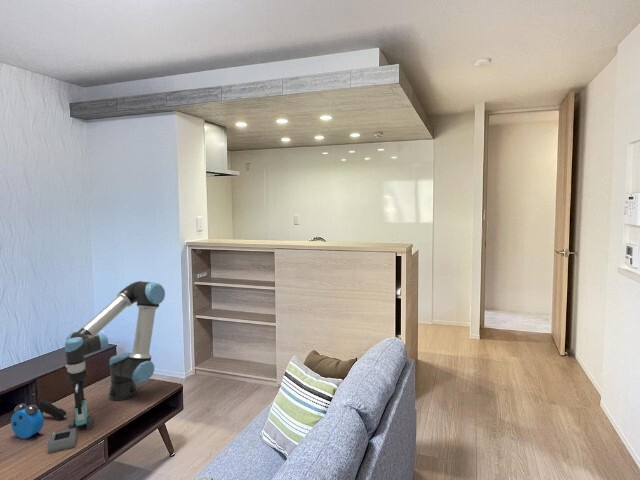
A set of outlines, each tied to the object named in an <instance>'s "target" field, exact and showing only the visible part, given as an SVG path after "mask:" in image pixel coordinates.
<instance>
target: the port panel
mask: <svg viewBox="0 0 640 480" xmlns="http://www.w3.org/2000/svg"><path fill="white" fill-rule="evenodd" d="M77 438H78V430H77V427H75V428H73V429H69V428H68V429H64V430H60V431H55V432H51V433H50V435H49V438H48V441H47V445H46V446H47V453H48V454H49V453H54V452H59V451H63V450H67V449H72V447H73V448H75V447H76V446H75V445H76V443H77Z"/></svg>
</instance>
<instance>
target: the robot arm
mask: <svg viewBox="0 0 640 480" xmlns="http://www.w3.org/2000/svg"><path fill="white" fill-rule="evenodd" d="M165 297H166V291H165V287H164V286H163V285H162V284H160V283H157V282H154V281H153V282H151V281H142V280H140V281H135V282H131V283H130V284H129V285H126V287H124V288H123V289H122V290H120V291H119V292H118V293H117V294H116V297H115V298H114V299H113V300H112V301H111V302H110V303H109V304H107V305H106V306H105V307H104V308H102V310H100V311H99V312H98V313H97V314H96V315H95V316H94V317H93V318H92V319H90V320H89V321H88V322H87V323H86V324H84V326H82V327H81V328H80V329H79V330H78V331H75V332H71V333H69V334H68V335H67V336H66V338H65V342H64V352H65V353H64V354H65V361H66V365H65V368H67V369H66V370H67V379H68V381H69V382H73V383H72V388H73V397H74V405H75V407H73V408H76V410H77V420H78V421H79V420H83V419H84V411H83V405H82V400H87V399H86V398H85V392H84V379H85V378H87V369H86V367H87V366H86V359H85V356H87V355H90V354H93V353H96V352H99V351H101V350H103V349H106V348H107V347H108V345H109V339H108V337H107V335H106V334H104V333H100V332H101V331H102V330H103V329H105V328H106V326H107V325H109V323H111V322H112V321H113V320H114V319H115V318H116V317H118V315H119V314H121V313H122V312H123V311H124V310H125V309H126V308H127V307H131V305H133V304H135V303H136V306H137V308H138V314H137V321H136V325H135V326H136V328H135V334H134V338H133V339H134V340H133V347H132V352H123V353H119V354H115V355H113V356H111V357H110V358H109V364H108V365H109V373H110V386H109V389H108V393H107V395H108V399H109V400H110V401H115V402H116V401H124V400H127V399H130V398H132V397H134V396H137V395H138V392H139V388H138V385H137V383H145V382H147V381H149V380H150V378H152V376H153V375H154V372H155V364H154V362H153V361H152V355H151V354H150V351H151V350H150V349H151V343H152V337H153V329H154V323H155V316H156V315H155V314H156V310H157V309H158V308H159V307H160V304H161V303H163V301H164V300H165ZM99 333H100V334H99Z"/></svg>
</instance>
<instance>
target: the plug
mask: <svg viewBox="0 0 640 480" xmlns="http://www.w3.org/2000/svg"><path fill="white" fill-rule="evenodd" d="M86 400H87V399H86ZM86 400H82V405H83V411H84V419H83V420H79V421H78V420H77V410H76V408H74V407H75V404H73V406H74V407H73V408H74V417H75V418H74V419H75V424H76V426H77V427H79V426H78V425H82V424H86V425H87V423H86V421H87V417H88V410H87V401H86ZM82 426H83V425H82Z"/></svg>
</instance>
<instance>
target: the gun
mask: <svg viewBox="0 0 640 480" xmlns="http://www.w3.org/2000/svg"><path fill="white" fill-rule="evenodd" d="M38 406H39V408H40V409H39V411H40V412H41V413H42V416H43V417H44V413H45V414H47V415H49V416H51V417H53V418H54V419H56V420H57V421H63V420H65V419H67V418H68V416H67V411H66V410H64V409H63V408H61V407H60V406H58V405H57V404H55V403H54V402H52V401H50V400H47V399H41V400H40V401H39V403H38Z"/></svg>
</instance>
